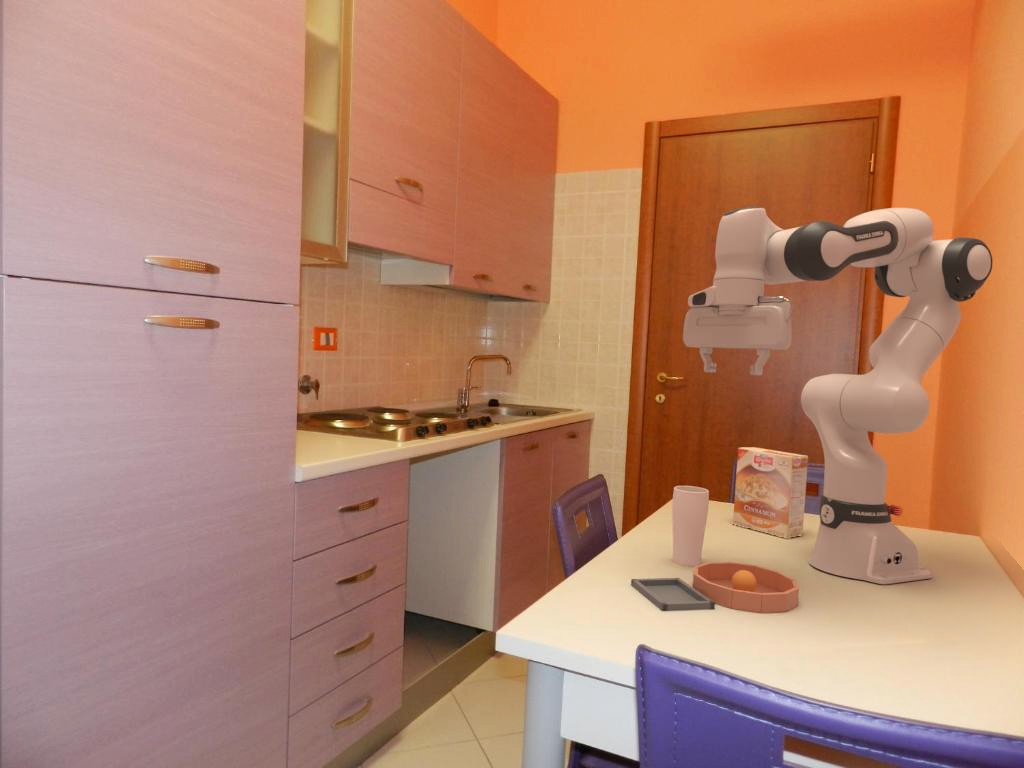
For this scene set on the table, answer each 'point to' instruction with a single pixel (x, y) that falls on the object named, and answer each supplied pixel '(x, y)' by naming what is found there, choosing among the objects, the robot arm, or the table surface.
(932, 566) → the table surface
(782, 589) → the bowl
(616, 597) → the table surface
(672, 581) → the tray
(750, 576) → the ball
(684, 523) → the drinking glass
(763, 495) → the coffeecake box
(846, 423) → the robot arm
